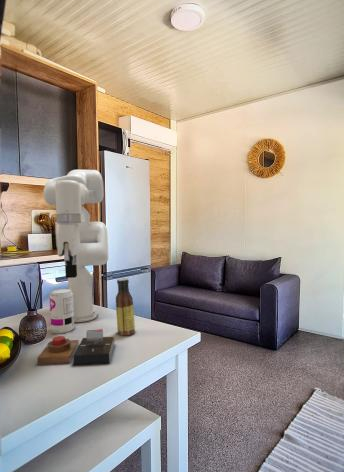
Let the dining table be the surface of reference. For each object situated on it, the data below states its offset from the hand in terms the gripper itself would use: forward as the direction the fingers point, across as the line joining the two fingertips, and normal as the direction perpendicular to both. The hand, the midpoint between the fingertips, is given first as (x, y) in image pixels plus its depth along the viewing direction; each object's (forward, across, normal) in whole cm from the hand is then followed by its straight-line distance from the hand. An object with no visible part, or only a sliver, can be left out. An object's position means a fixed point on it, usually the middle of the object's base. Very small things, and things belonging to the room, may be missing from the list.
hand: (71, 277), depth 98 cm
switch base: (+23, +7, +8) cm, 25 cm away
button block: (+23, +6, -3) cm, 24 cm away
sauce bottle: (+23, -10, +16) cm, 30 cm away
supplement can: (+23, -16, -8) cm, 29 cm away
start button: (+19, +6, -3) cm, 21 cm away
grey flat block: (+20, +7, +8) cm, 23 cm away
